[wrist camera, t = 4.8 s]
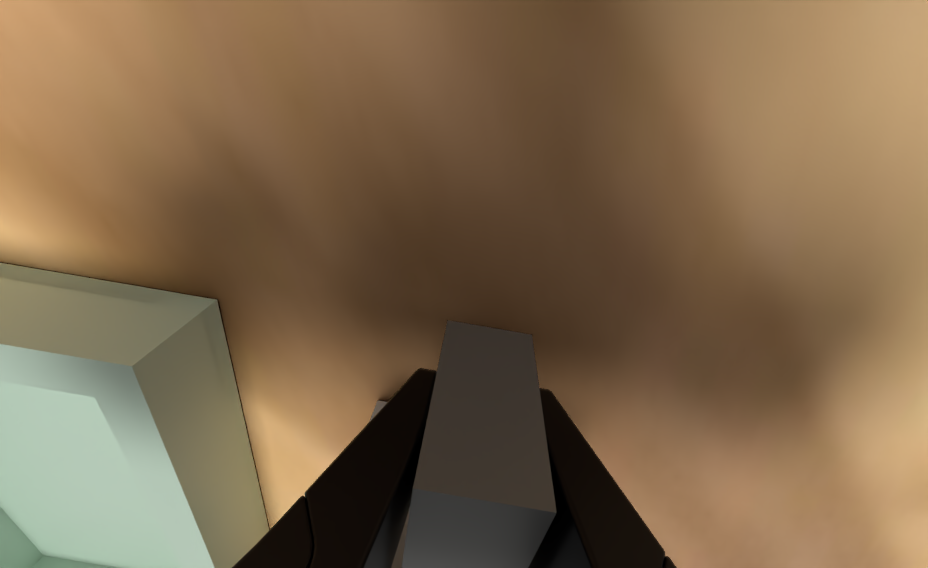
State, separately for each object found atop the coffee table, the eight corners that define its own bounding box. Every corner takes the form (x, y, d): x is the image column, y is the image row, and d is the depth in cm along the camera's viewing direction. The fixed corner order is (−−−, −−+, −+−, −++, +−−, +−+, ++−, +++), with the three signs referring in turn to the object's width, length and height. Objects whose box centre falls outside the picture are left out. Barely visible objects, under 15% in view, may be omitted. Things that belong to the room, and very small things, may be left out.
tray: (217, 299, 10) (131, 366, 7) (282, 589, 18) (252, 660, 16) (-243, 220, 10) (-472, 263, 7) (42, 549, 18) (-21, 614, 16)
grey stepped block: (597, 327, 9) (681, 533, 5) (501, 555, 15) (502, 737, 11) (382, 290, 9) (286, 466, 5) (371, 534, 15) (322, 707, 11)
